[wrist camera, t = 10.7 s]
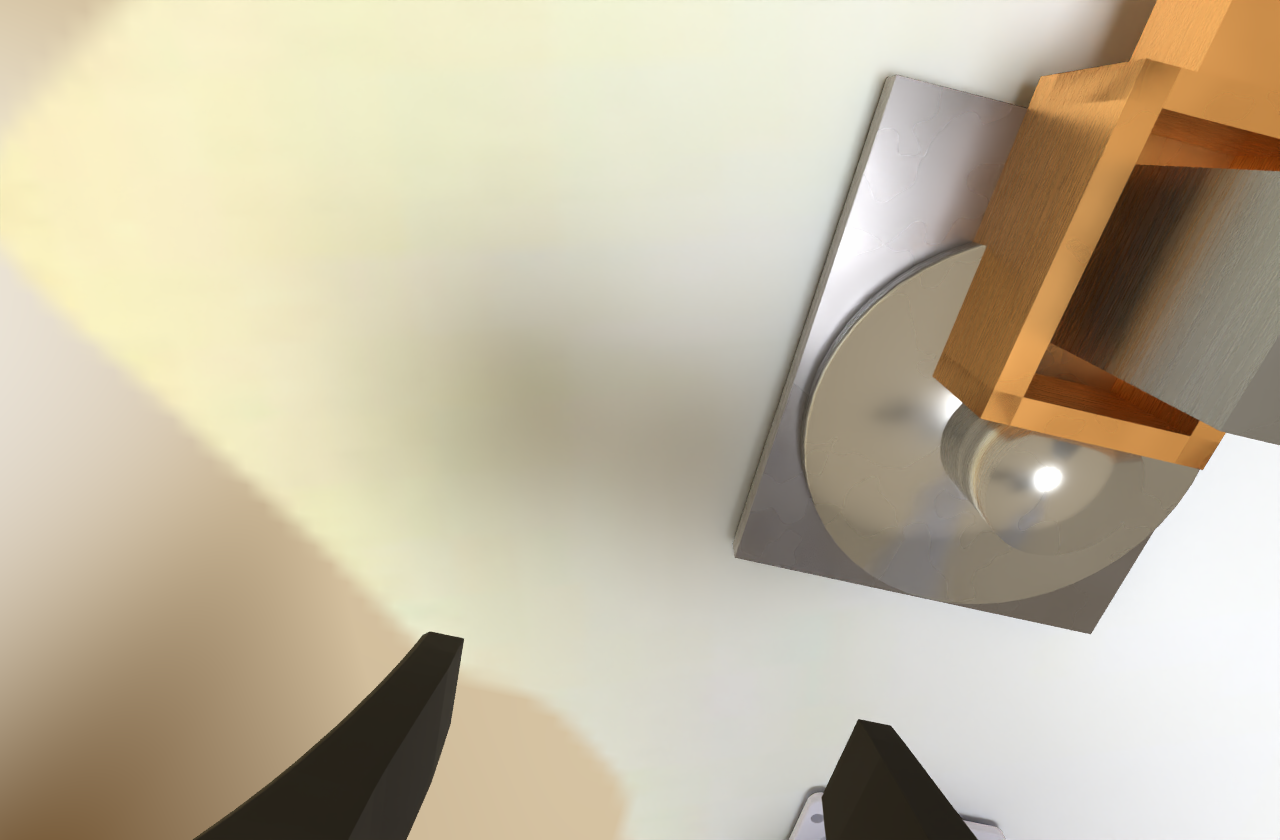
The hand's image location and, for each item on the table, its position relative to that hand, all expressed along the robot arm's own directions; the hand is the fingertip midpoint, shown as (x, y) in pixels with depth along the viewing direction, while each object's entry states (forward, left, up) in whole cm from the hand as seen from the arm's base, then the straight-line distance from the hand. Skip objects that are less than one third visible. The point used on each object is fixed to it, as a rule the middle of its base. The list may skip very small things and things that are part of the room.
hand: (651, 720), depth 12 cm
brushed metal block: (+9, -9, -8) cm, 15 cm away
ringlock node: (+9, -9, -10) cm, 16 cm away
